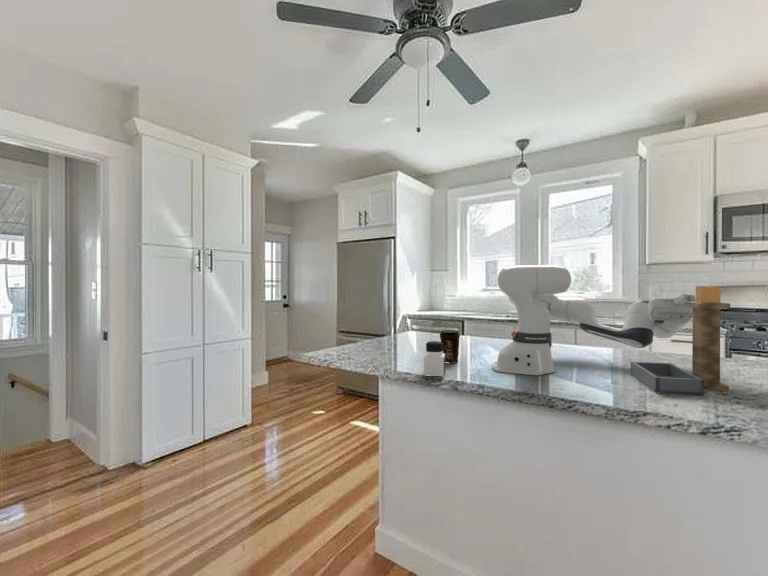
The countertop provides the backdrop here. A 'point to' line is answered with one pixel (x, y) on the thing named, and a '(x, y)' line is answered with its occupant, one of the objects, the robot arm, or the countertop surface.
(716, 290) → the lock pin
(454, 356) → the coffee cup
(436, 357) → the medicine bottle
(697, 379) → the tray
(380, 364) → the countertop surface
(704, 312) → the pedestal
